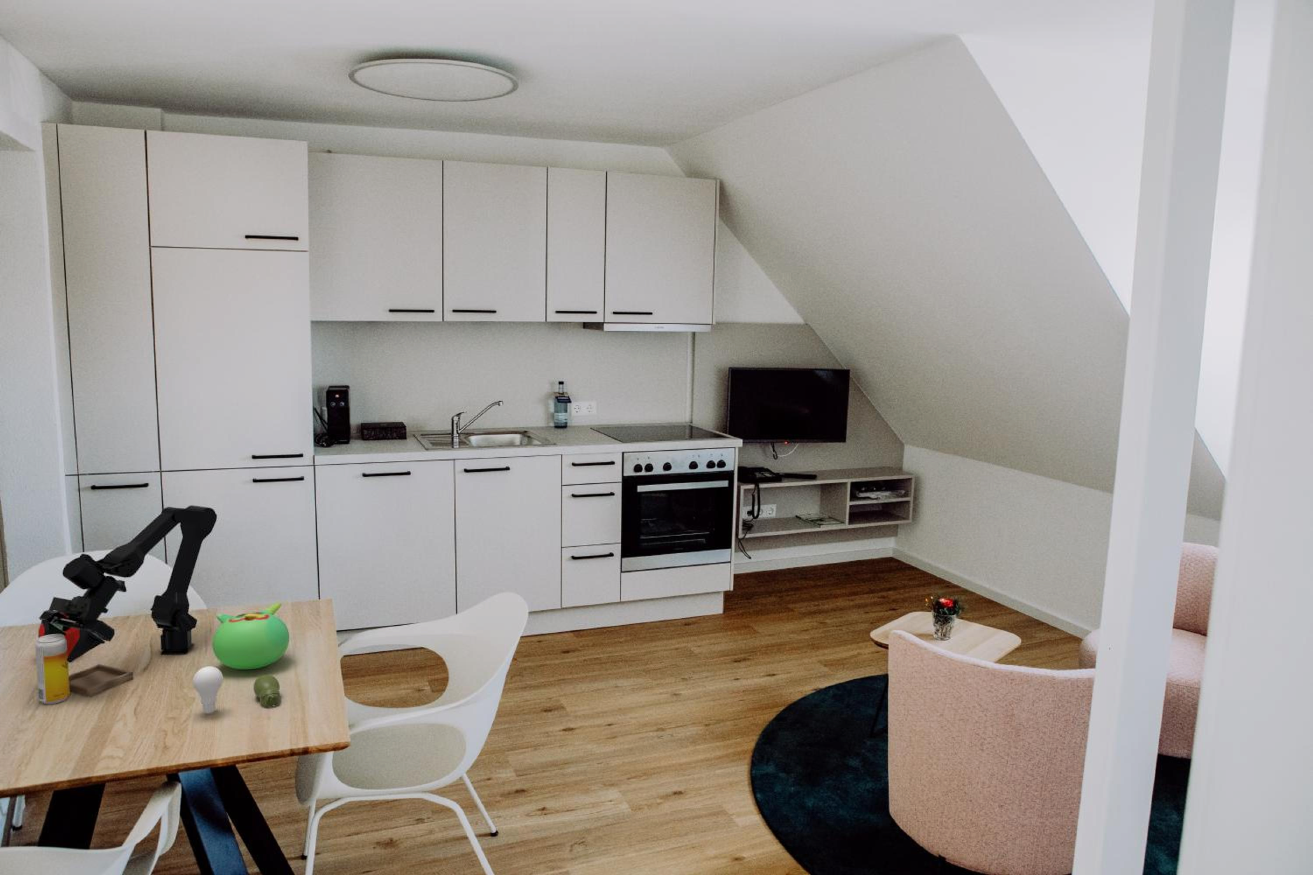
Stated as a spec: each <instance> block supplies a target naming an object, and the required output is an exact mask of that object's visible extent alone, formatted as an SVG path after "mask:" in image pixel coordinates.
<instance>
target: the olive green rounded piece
mask: <svg viewBox="0 0 1313 875" xmlns="http://www.w3.org/2000/svg"><path fill="white" fill-rule="evenodd" d="M280 686H281V684H280V683H279V680H278V679H277V678H276V677H275V676H274V675H272V674H263V675H260V676H259V677H257V679H255V681H254V683H253V692H254V695H256V697H258V698H259V704H260V706H261V707H263V708H269V707H268V706H271V707H274V706H273V705H276V706H279V705H280V703H281V701H282V699H281V693H280Z"/></svg>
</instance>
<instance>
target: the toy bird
mask: <svg viewBox="0 0 1313 875" xmlns="http://www.w3.org/2000/svg"><path fill="white" fill-rule="evenodd" d="M282 604H283V603H281V602H278V603H275V604H273V605H270V606H269V607H267V608H265V609H263V610H260V611H258V612H248V613H241V614H238V615H235V616H232V615H229V614H225V613H218V614H216V618H217V620H218V621H219V622H220V623H221V625H219V627H218V628H217V629H216V631H215V632H214V635H213V638H212V639H213V640H212V651H213V653H214V655H215V657H216V659H217V661H219V662H220V663H221V664H223V665H224V666H226V667H229V668H232V669H237V670H255V669H260V668H264V667H266V666H269V665H271V664H273V663H276V661H278V660H279V659H280V658H281V657H283V656H284V655H285V653H286V652H287V649H288V647H289V644H290V632H289V628H288V627H287V625H286V623H285V622H284V621H283V620H282V619H281V618H280V617H277V616H276V615H275V614H276V613H277V612H278V610H279V609H280V607H281V606H282Z"/></svg>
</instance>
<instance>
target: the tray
mask: <svg viewBox="0 0 1313 875" xmlns="http://www.w3.org/2000/svg"><path fill="white" fill-rule="evenodd" d="M132 680H134V672H133V671H130V670H125V669H121V668H117V667H112V666H109V665H104V664H99V663H98V664H95V665H93V666H91V667H88V668H84V669H83V670H80V671H77V672H75V673H73V674H69V687H70V694H75V695H79V696H83V697H86V698H87V697H88V698H90V697H93V696H96V695H98V694H101V693H103V692H105V691H108V690H110V689H113V688H115V687H117V686H119V685H120V686H121V685H123V684H125V683H127V682H129V681H132Z"/></svg>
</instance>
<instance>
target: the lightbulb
mask: <svg viewBox="0 0 1313 875" xmlns="http://www.w3.org/2000/svg"><path fill="white" fill-rule="evenodd" d="M223 680H224V676H223V674H222V671H221V670H220V669H218V668H217V667H215V666H203V667H202V668H200V669H199V670H197V671H196V673H195V674H194V676H193V680H192V685H193V688H194V690H195V692H197V693H198V696H199V698H200V703H201V704H202V712H203V713H205V714H207V715H211V714H212V713H213V712H215V711H216V702H217V696H218V693H219V690H220V689H221V687H222V685H223V682H224V681H223Z"/></svg>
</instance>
